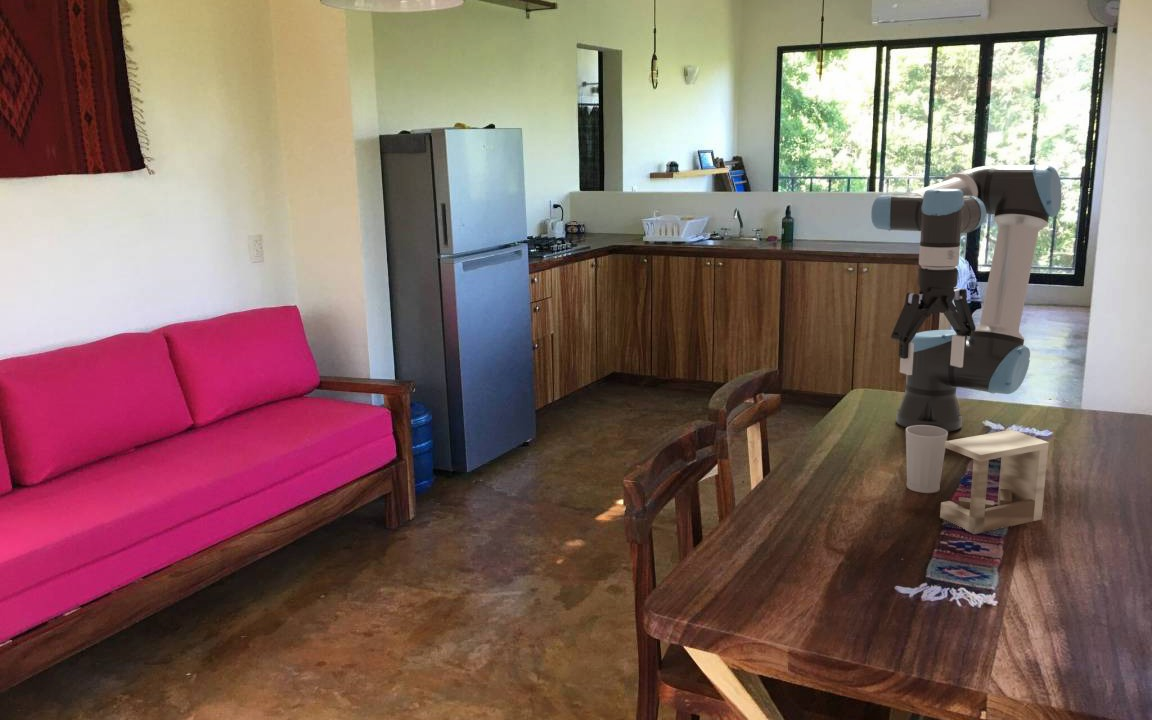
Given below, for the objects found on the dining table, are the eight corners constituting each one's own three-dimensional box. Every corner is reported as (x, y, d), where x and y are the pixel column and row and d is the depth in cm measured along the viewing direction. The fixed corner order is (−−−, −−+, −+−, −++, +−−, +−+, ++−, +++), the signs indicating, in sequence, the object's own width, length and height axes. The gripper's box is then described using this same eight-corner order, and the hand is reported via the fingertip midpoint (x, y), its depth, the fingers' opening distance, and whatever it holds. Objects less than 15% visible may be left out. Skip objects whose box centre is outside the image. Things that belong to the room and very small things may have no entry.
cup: (947, 495, 185) (951, 437, 182) (905, 493, 187) (908, 436, 184) (940, 481, 193) (944, 425, 190) (899, 479, 194) (903, 424, 192)
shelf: (940, 517, 175) (945, 441, 171) (1005, 503, 180) (1011, 429, 177) (974, 534, 167) (980, 455, 164) (1041, 519, 173) (1048, 442, 169)
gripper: (903, 273, 179) (897, 380, 184) (999, 264, 189) (990, 366, 194) (876, 269, 186) (870, 372, 190) (970, 260, 195) (962, 359, 200)
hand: (931, 370), depth 192 cm, fingers open, 13 cm apart
